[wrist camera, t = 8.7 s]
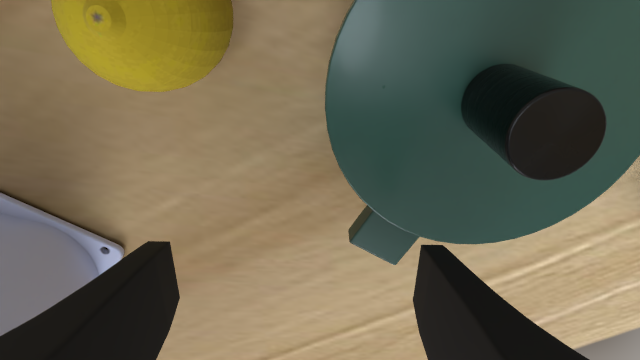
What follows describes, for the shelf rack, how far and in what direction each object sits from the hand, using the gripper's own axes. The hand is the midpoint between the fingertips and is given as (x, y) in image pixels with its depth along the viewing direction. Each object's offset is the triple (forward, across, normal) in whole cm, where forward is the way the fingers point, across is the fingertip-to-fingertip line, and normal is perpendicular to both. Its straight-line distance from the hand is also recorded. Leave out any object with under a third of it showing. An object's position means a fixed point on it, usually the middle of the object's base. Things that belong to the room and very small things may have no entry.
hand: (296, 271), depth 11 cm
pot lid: (+4, -6, -4) cm, 9 cm away
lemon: (+11, +6, -7) cm, 14 cm away
